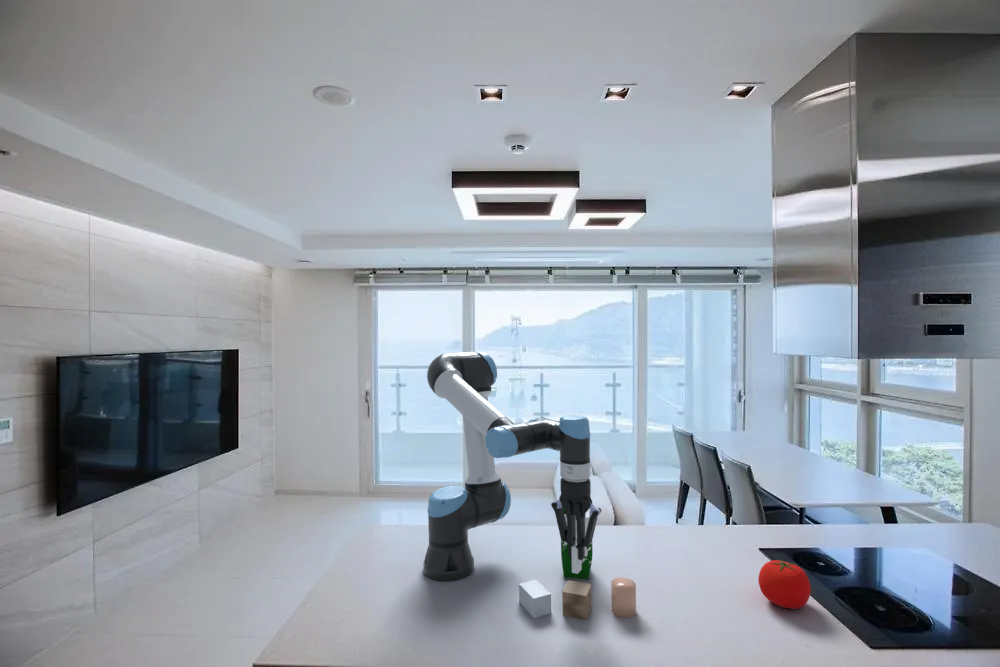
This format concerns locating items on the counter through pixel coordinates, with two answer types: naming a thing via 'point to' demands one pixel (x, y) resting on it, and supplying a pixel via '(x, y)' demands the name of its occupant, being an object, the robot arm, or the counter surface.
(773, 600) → the tomato
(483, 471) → the robot arm
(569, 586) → the walnut cube
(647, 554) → the counter surface
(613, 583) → the peach domed cylinder
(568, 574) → the milk carton
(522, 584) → the grey brick
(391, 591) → the counter surface
